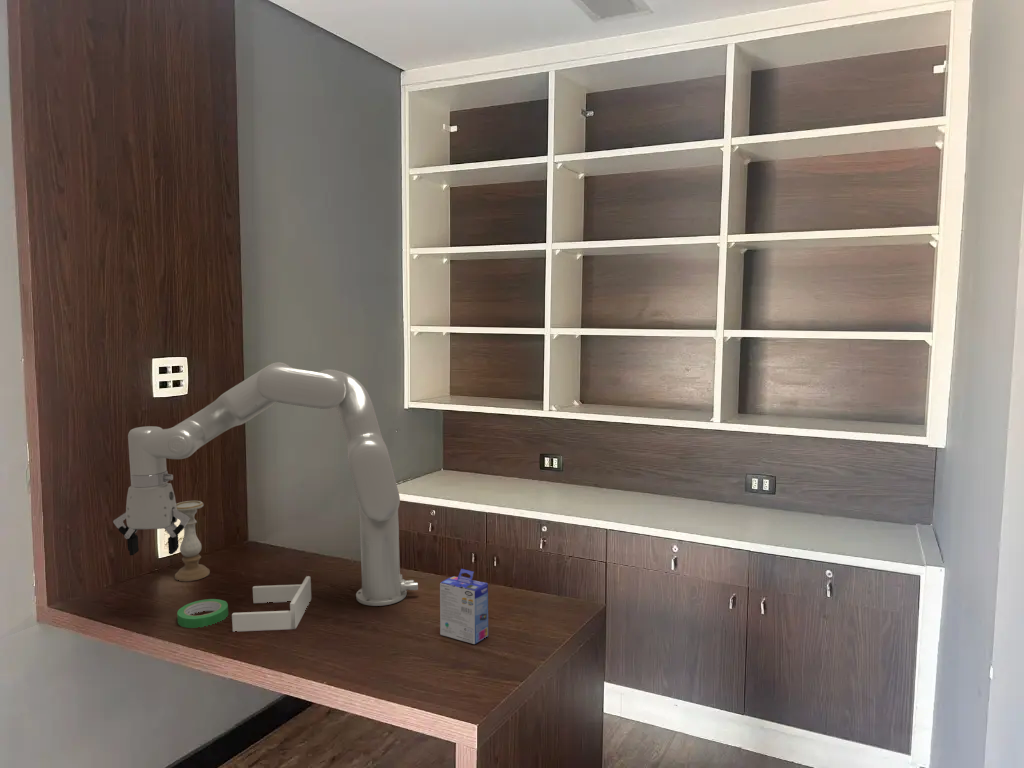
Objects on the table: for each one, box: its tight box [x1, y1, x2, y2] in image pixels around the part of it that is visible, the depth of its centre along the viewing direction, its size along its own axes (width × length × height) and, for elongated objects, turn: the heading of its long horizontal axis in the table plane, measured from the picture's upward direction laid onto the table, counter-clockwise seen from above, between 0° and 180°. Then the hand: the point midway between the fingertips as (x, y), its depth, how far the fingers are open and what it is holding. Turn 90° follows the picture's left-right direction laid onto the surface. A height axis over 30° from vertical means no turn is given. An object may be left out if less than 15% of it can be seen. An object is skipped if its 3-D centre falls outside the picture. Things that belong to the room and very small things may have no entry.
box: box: [231, 575, 312, 632], centre depth 171 cm, size 14×17×6 cm
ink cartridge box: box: [439, 568, 489, 645], centre depth 158 cm, size 10×6×14 cm, turn 58°
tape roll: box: [176, 598, 229, 629], centre depth 170 cm, size 11×11×3 cm
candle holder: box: [174, 500, 211, 582], centre depth 196 cm, size 9×9×20 cm
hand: (153, 552), depth 168 cm, fingers open, 8 cm apart
